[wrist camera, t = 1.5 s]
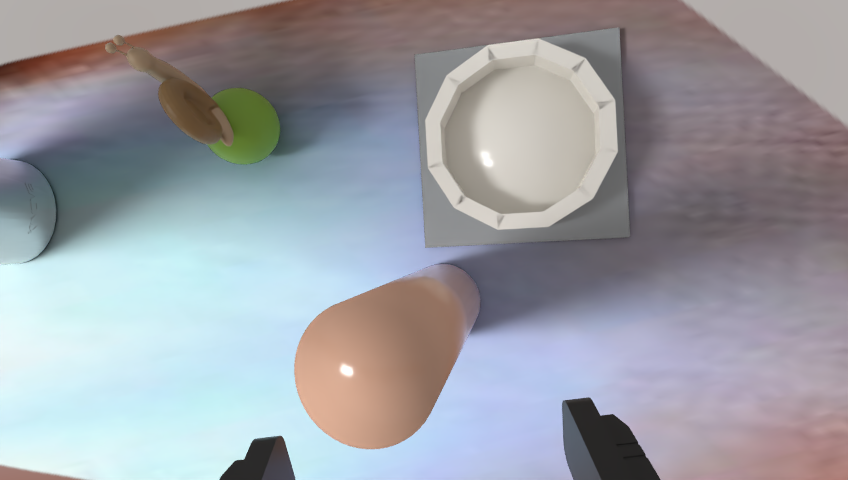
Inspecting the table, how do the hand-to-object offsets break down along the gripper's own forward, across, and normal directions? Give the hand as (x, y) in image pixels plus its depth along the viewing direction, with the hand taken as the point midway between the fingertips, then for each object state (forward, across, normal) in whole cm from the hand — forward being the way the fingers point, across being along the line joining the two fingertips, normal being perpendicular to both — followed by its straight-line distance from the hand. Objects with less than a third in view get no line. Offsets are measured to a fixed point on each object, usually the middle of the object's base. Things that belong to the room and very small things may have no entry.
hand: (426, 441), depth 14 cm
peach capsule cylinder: (+21, +1, -6) cm, 22 cm away
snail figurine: (+28, -12, +7) cm, 31 cm away
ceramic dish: (+23, +8, +4) cm, 24 cm away
